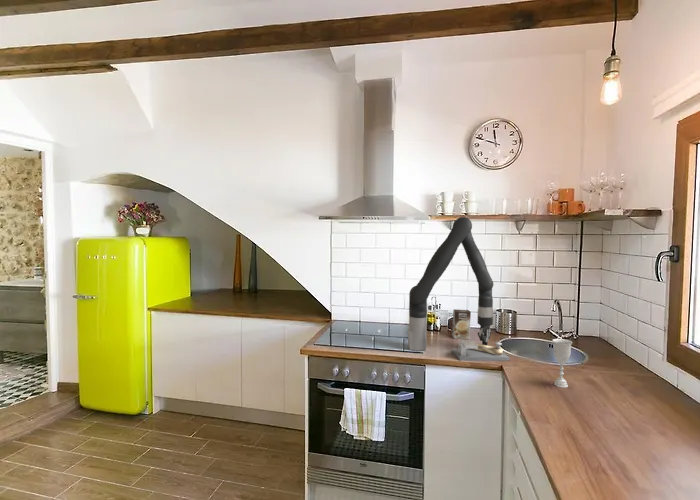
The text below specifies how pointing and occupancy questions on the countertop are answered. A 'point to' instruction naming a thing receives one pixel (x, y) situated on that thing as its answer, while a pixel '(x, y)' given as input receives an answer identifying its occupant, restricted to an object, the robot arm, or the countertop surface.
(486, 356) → the hinge plate
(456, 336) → the coffee box
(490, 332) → the robot arm
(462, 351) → the keeper
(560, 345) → the chalice
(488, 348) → the link
